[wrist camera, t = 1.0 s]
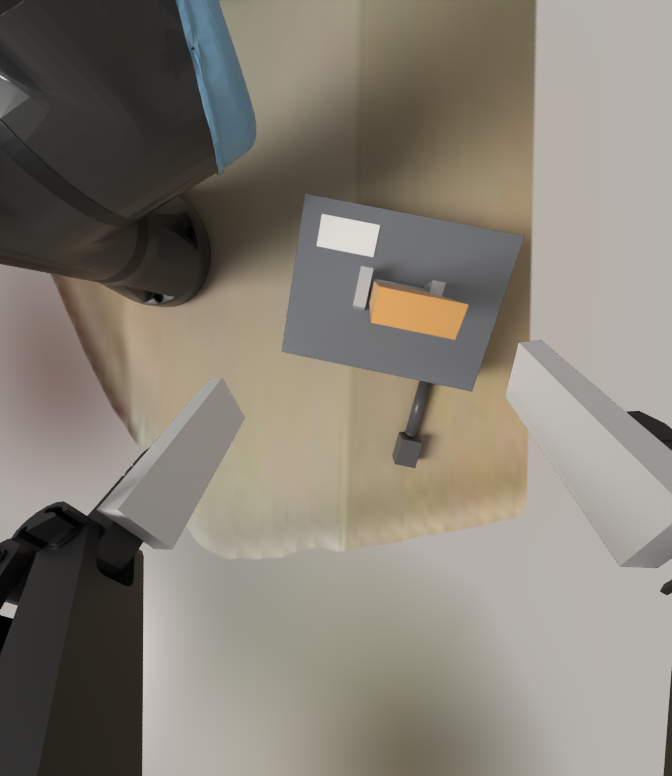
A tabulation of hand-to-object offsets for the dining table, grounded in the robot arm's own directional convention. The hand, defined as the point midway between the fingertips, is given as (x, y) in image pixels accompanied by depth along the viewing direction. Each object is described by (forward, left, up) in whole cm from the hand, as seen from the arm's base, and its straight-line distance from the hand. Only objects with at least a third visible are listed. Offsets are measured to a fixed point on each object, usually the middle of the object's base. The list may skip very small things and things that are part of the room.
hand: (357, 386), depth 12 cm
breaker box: (+3, +1, -25) cm, 25 cm away
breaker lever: (0, +7, -17) cm, 18 cm away
